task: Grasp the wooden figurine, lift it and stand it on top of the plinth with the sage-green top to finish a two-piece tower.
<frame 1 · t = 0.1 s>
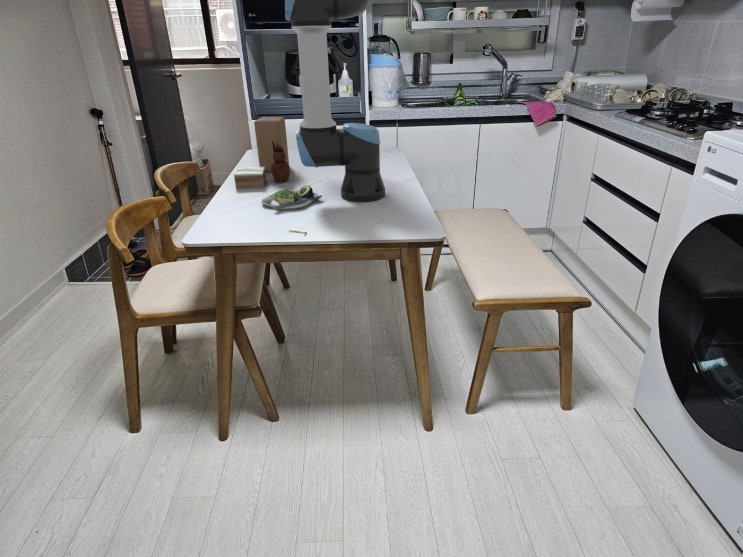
hand: (318, 92, 195), 28 cm above the table, fingers open, 13 cm apart
block: (275, 169, 198), on the table
salad plate: (292, 203, 161), on the table
wooden figurine: (281, 181, 183), on the table
plinth: (251, 183, 180), on the table
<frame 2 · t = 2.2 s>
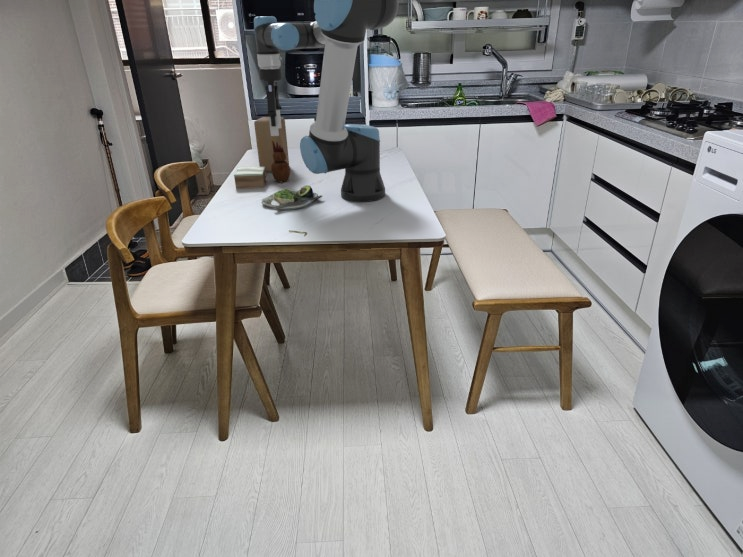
hand: (276, 132, 174), 18 cm above the table, fingers open, 13 cm apart
nothing on the table moved.
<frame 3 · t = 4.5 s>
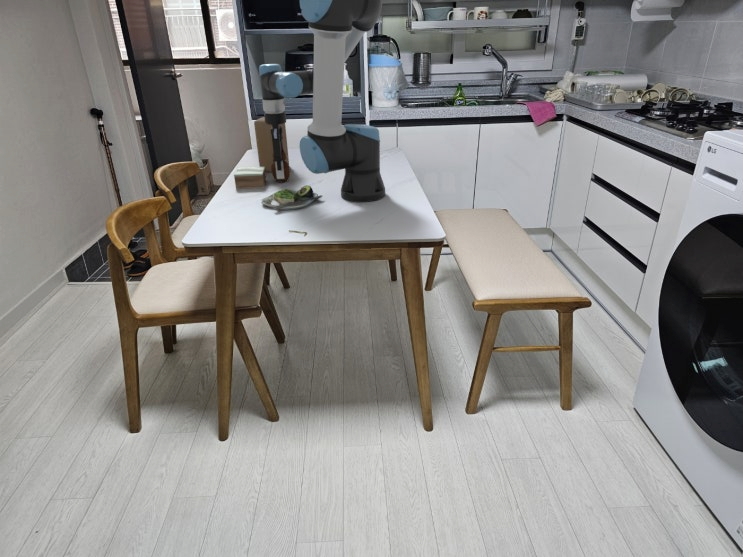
hand: (281, 175, 182), 2 cm above the table, fingers closed on wooden figurine, 7 cm apart
wooden figurine: (281, 181, 183), on the table, touching gripper
everything else where it was.
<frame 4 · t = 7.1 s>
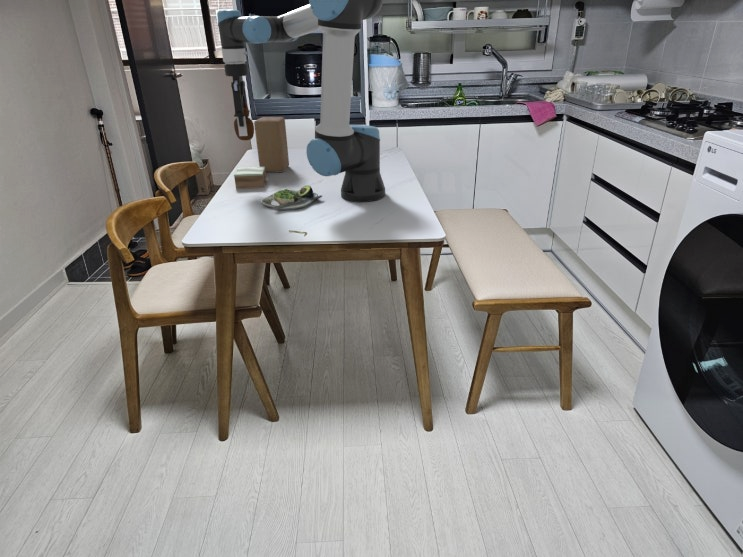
hand: (244, 133, 172), 18 cm above the table, fingers closed on wooden figurine, 7 cm apart
wooden figurine: (245, 140, 173), point 16 cm above the table, touching gripper
everything else where it was.
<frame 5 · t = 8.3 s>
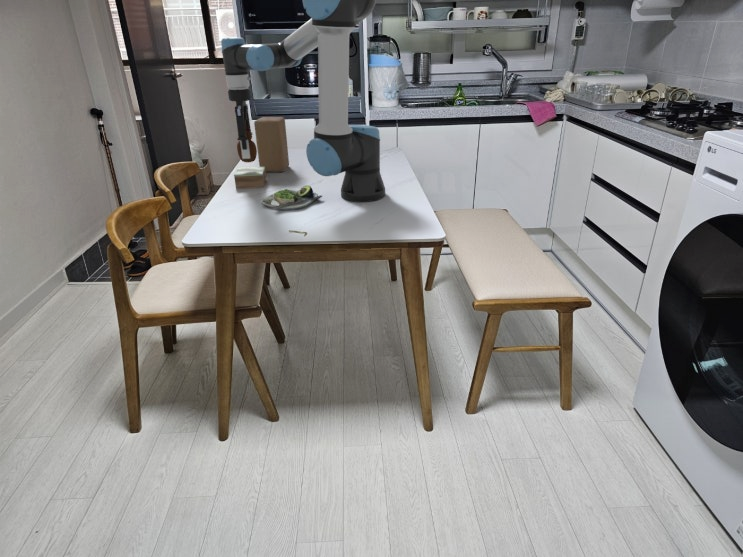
hand: (247, 155, 175), 10 cm above the table, fingers closed on wooden figurine, 7 cm apart
wooden figurine: (248, 161, 176), point 8 cm above the table, touching gripper
everything else where it was.
when the fingers open (8 cm above the table, at t = 9.6 s): wooden figurine stays where it is, resting on plinth.
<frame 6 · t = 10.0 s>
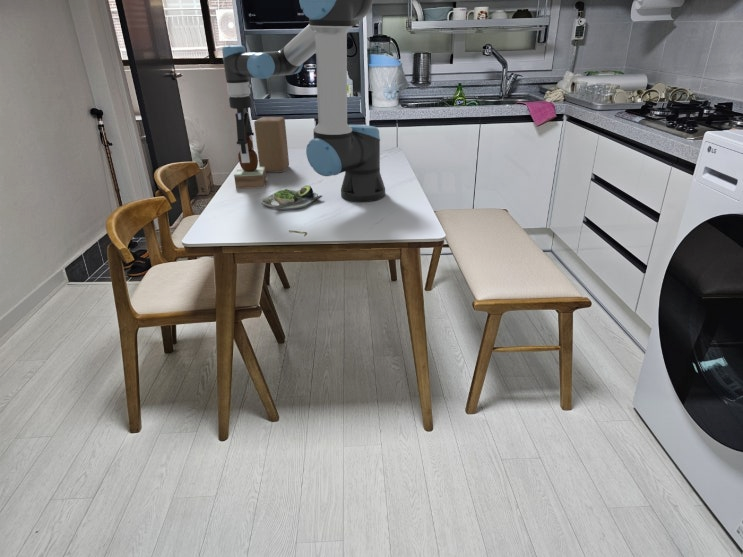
hand: (248, 158, 176), 10 cm above the table, fingers open, 12 cm apart
wooden figurine: (250, 171, 178), point 5 cm above the table, touching plinth
everything else where it was.
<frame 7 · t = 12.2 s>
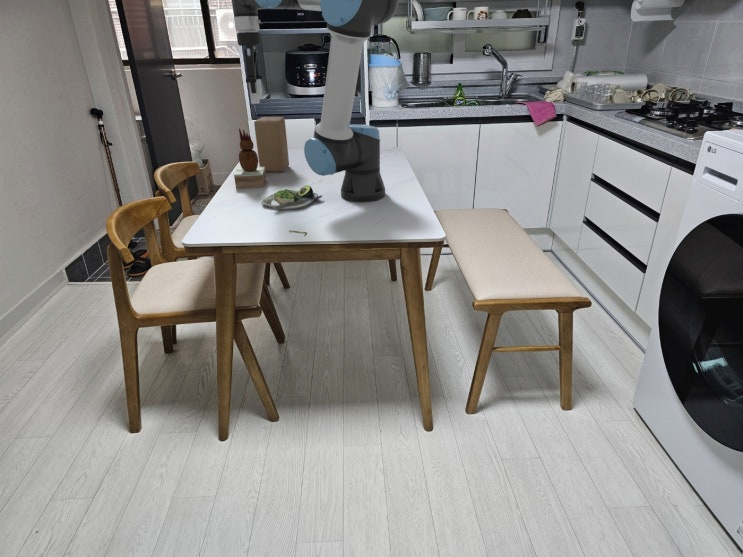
hand: (257, 101, 166), 29 cm above the table, fingers open, 13 cm apart
nothing on the table moved.
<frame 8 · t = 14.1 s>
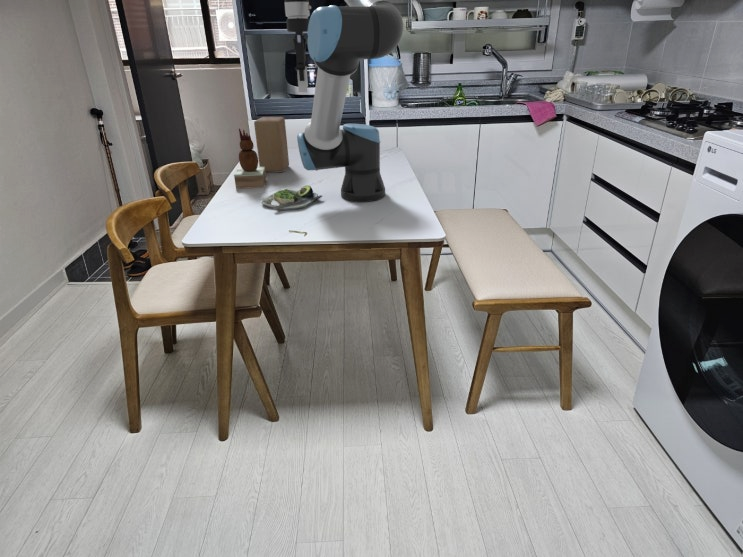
hand: (303, 89, 163), 33 cm above the table, fingers open, 13 cm apart
nothing on the table moved.
at the end: wooden figurine inside the target area on the plinth (0.1 cm from its centre), point 4.8 cm above the plinth's base; wooden figurine tilted 0°; the gripper is holding nothing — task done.
